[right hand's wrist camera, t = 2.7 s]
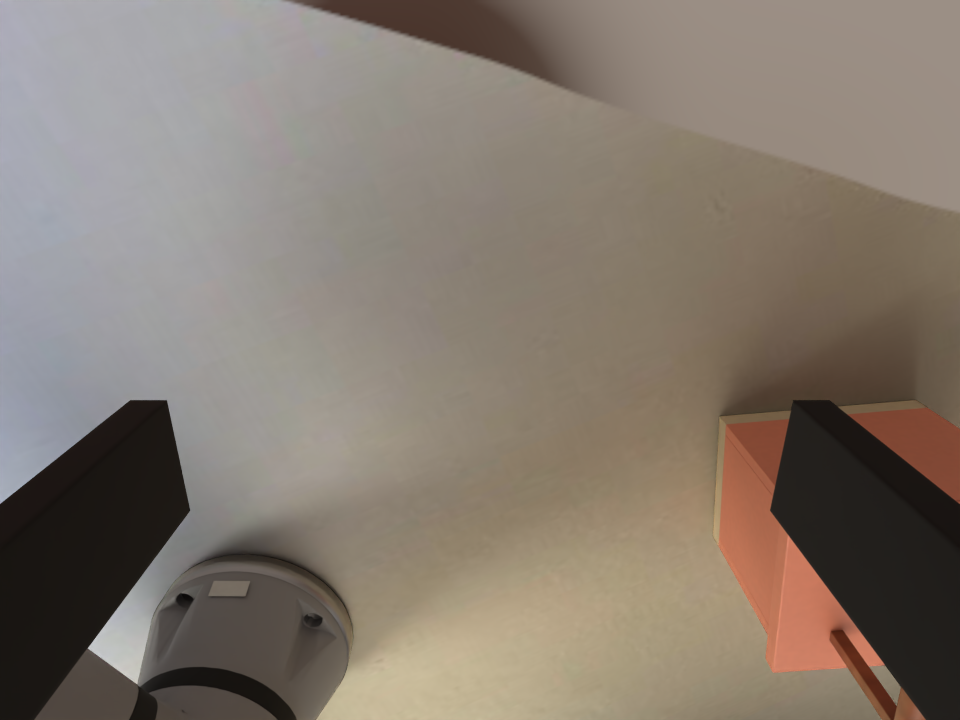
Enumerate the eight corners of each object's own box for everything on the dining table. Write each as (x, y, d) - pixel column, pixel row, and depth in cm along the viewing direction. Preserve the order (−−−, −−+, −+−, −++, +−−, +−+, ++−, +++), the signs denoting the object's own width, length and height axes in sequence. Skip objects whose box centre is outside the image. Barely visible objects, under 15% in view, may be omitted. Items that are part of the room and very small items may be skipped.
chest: (712, 536, 45) (779, 656, 35) (719, 416, 41) (795, 512, 31) (893, 522, 45) (1013, 641, 34) (916, 399, 41) (1058, 492, 31)
